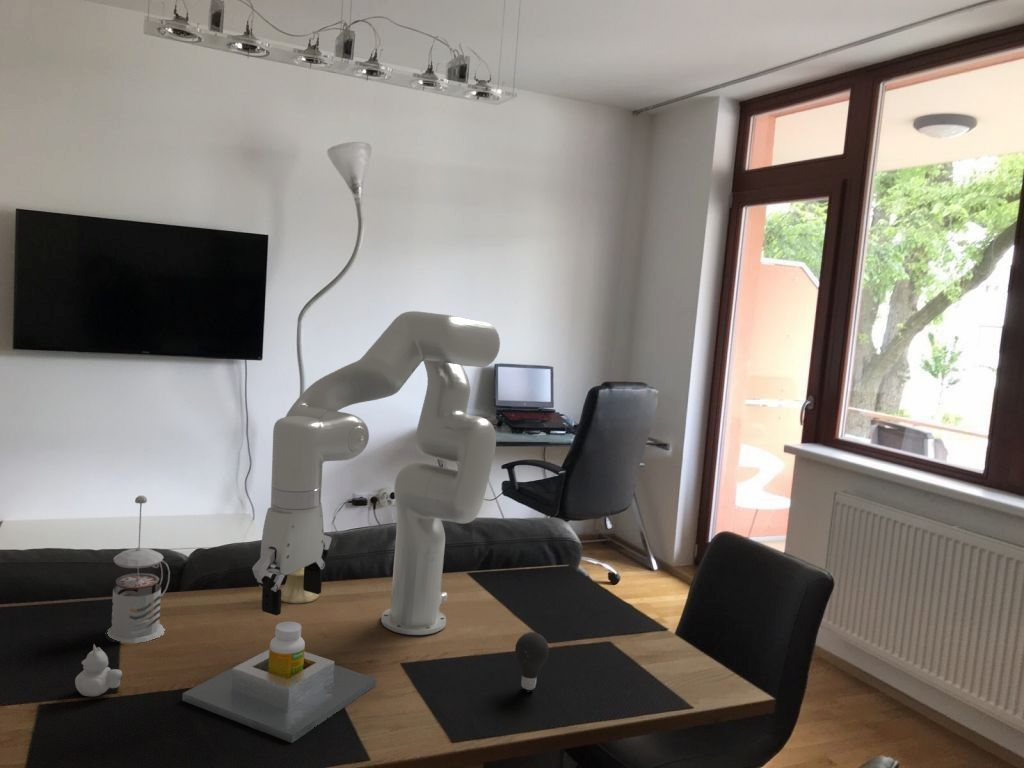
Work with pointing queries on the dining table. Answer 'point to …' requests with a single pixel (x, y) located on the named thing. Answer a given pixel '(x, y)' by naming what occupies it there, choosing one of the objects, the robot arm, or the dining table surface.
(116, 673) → the rubber duck
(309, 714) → the collar plate
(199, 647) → the dining table surface
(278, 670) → the supplement bottle
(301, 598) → the hand bell
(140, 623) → the french press
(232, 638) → the dining table surface
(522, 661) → the light bulb
